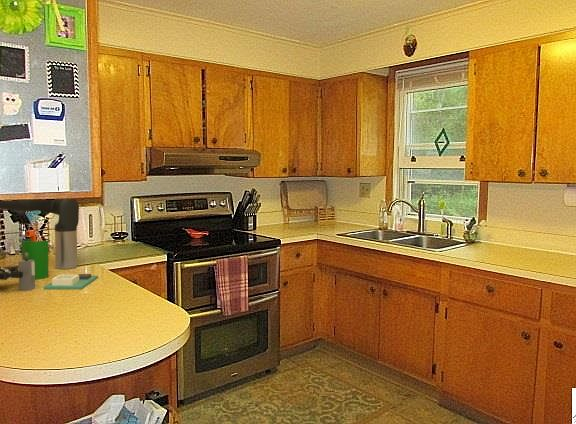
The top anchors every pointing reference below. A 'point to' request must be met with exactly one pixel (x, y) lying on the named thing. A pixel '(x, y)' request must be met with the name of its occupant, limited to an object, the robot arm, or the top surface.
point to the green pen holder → (36, 254)
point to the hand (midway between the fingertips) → (27, 272)
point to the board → (71, 281)
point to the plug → (27, 274)
